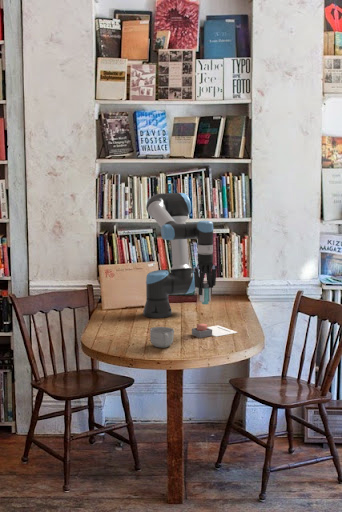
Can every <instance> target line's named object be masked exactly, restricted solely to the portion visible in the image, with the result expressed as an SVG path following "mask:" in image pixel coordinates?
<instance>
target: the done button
mask: <svg viewBox="0 0 342 512" xmlns="http://www.w3.org/2000/svg"><path fill="white" fill-rule="evenodd" d="M207 327H208V324H207V323H198V324H196V328H197V330H199V331H205V330H207Z"/></svg>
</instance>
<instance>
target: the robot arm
mask: <svg viewBox="0 0 342 512" xmlns="http://www.w3.org/2000/svg"><path fill="white" fill-rule="evenodd" d="M191 203H192V202H191V200H190V198H189V196H188V194H186V193H184V192H172V193H171V192H169V193H168V192H167V193H156V194H155V195H152V196H151V197H150V198H149V199H148V201H147V202H146V206H145V209H146V213H147V214H148V215H149V217H150V218H152V219H154V220H155V222H156V223H157V224H158V225H159V227H160V234H161V238H162V239H163V240H165V241H170V246H171V247H170V248H171V257H172V258H171V259H172V266H171V268H170V269H169V270H170V271H169V270H166V269H158V270H153V271H150V272H149V273H147V275H146V277H145V278H146V279H145V284H146V286H145V287H146V289H145V290H146V291H145V292H146V295H145V296H146V297H145V298H146V300H145V303H144V308H143V313H142V315H143V317H146V318H152V319H155V318H156V319H163V318H168V317H171V316H172V312H173V311H172V307H171V304H170V302H169V296H171V295H187V294H192V293H193V292H194V291H195V289H196V288H197V289H198V295H199V302H201V303H202V302H204V289H203V283H205V278H206V283H209V288H208V290H209V302H211V301H212V299H211V297H212V296H211V295H212V293H213V292H212V291H213V288H214V286H216V281H217V270H218V267H219V266H218V265H215V264H214V263H213V262H214V254H213V252H214V223H213V221H212V220H199V221H198V222H192V223H186V221H187V220H188V219H189V215H190V214H191V212H192V204H191ZM192 239H193V240H194V239H195V240H197V241H196V242H197V243H196V244H197V249H196V252H197V265H196V266H195V267H191V265H190V263H189V262H190V261H189V260H190V259H189V250H188V240H192ZM205 276H206V277H205Z"/></svg>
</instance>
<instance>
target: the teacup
mask: <svg viewBox="0 0 342 512" xmlns="http://www.w3.org/2000/svg"><path fill="white" fill-rule="evenodd" d="M174 333H175V329H174V328H173V327H167V326H155V327H151V328H150V329H149V336H150V337H149V338H150V343H151V345H153V346H154V347H155V348H161V349H163V348H168V347H170V346H171V345H173V343H174V336H175V335H174Z"/></svg>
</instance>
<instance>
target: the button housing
mask: <svg viewBox="0 0 342 512" xmlns="http://www.w3.org/2000/svg"><path fill="white" fill-rule="evenodd" d="M191 335H192V336H195V337H197V338H199V339H203V338H207V337H212V336H213V335H212V329H209V328H207V330H205V331H199V330H197V327H193V328H191Z"/></svg>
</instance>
